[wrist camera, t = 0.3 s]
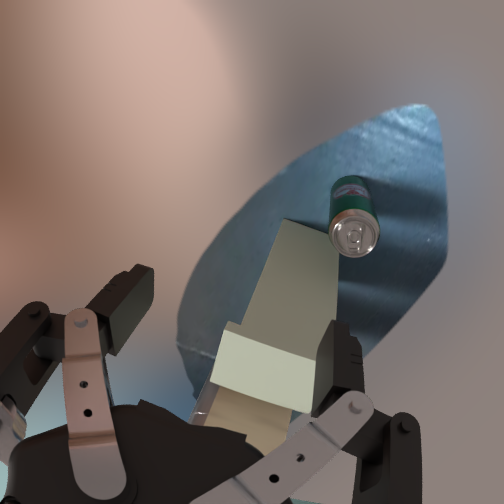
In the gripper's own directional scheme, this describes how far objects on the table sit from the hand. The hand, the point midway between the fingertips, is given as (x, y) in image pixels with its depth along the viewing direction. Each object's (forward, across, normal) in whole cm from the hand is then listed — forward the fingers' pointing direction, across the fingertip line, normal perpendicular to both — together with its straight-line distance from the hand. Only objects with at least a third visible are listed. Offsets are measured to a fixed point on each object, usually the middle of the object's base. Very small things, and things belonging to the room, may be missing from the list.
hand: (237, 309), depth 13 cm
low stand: (+28, +4, -11) cm, 31 cm away
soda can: (+28, +8, -1) cm, 29 cm away
